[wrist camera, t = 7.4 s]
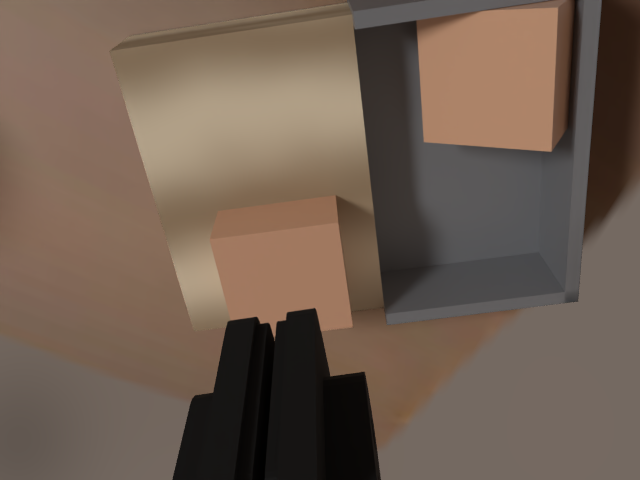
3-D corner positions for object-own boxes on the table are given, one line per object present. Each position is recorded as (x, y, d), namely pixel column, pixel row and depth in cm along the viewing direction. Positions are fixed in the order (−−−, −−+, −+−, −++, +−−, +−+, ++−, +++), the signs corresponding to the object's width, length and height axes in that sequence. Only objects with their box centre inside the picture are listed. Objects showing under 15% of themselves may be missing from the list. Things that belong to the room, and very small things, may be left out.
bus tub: (346, -4, 24) (353, 11, 21) (560, -37, 24) (604, -27, 20) (378, 277, 31) (387, 324, 27) (547, 255, 30) (578, 301, 27)
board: (130, 35, 25) (109, 51, 22) (347, 2, 25) (352, 14, 22) (203, 295, 31) (193, 331, 29) (377, 273, 31) (384, 307, 28)
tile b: (217, 210, 26) (209, 239, 23) (335, 194, 25) (338, 222, 23) (241, 307, 28) (236, 341, 26) (349, 293, 28) (353, 327, 26)
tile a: (557, 7, 20) (575, -8, 21) (416, 13, 22) (442, 0, 24) (551, 151, 22) (567, 127, 24) (423, 142, 25) (446, 121, 26)
